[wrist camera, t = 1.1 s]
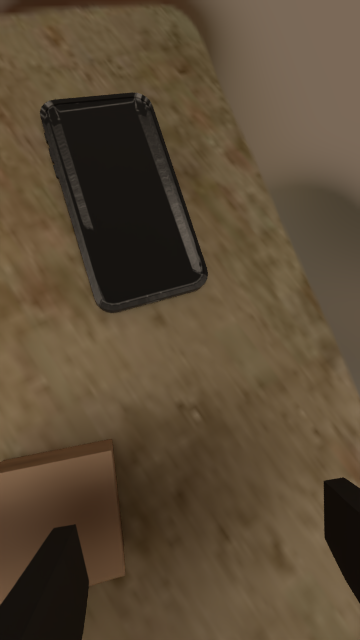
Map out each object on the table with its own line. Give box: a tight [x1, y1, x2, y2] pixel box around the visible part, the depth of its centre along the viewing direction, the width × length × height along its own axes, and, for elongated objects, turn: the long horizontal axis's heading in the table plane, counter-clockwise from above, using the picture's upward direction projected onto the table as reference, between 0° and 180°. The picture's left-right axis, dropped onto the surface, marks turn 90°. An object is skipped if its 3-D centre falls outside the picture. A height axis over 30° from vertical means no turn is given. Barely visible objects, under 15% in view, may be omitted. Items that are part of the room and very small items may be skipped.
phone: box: [40, 93, 208, 313], centre depth 21 cm, size 8×1×15 cm
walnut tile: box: [0, 439, 125, 605], centre depth 16 cm, size 6×6×3 cm
